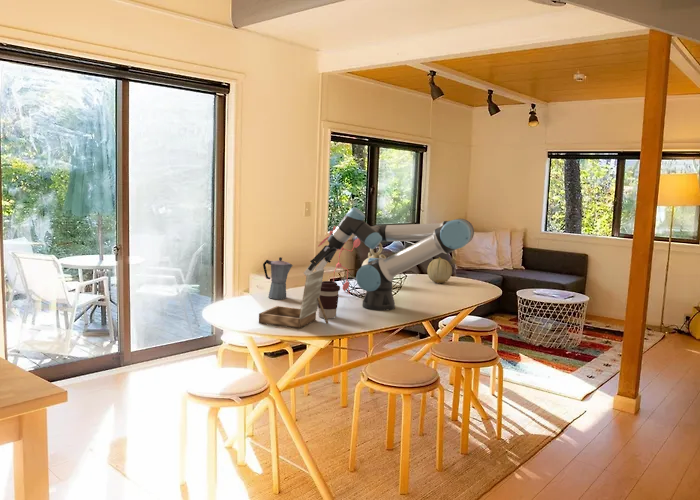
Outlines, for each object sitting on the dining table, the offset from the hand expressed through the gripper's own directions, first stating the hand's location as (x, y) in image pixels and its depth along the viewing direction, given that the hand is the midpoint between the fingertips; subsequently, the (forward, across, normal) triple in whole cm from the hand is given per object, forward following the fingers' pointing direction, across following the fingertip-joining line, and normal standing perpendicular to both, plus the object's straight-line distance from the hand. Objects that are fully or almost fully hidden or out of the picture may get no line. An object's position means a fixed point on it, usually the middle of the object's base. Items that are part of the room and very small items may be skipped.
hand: (311, 272), depth 268 cm
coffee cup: (+4, +17, +21) cm, 27 cm away
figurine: (+13, -34, +8) cm, 38 cm away
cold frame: (+8, +33, +15) cm, 37 cm away
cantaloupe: (-12, -95, +43) cm, 105 cm away
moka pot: (+25, -7, -8) cm, 27 cm away
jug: (+6, -65, +18) cm, 68 cm away
